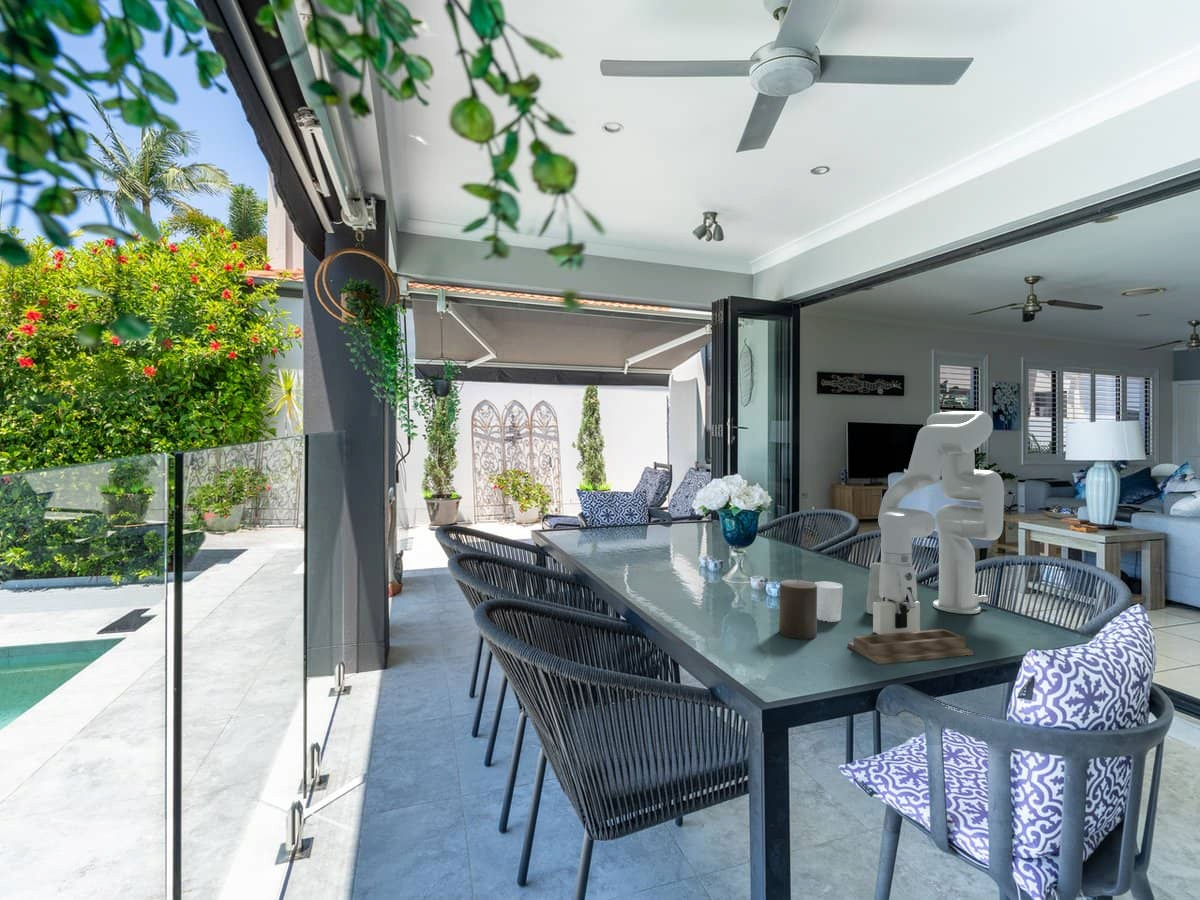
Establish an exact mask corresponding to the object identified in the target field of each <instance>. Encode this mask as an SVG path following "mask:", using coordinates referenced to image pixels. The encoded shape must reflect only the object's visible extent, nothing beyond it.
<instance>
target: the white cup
mask: <svg viewBox="0 0 1200 900" xmlns="http://www.w3.org/2000/svg"><path fill="white" fill-rule="evenodd" d="M814 583H815V584H817V621H821V620H822V621H821V622H825V621H827V623H836V622H840V621H841V618H842V605H843V592H844V591H843V587H844V586H843V584H842V583H839V582H836V581H834V582H833V581H828V580H827V581H826V580H825V581H815V582H814Z"/></svg>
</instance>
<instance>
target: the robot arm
mask: <svg viewBox="0 0 1200 900" xmlns="http://www.w3.org/2000/svg"><path fill="white" fill-rule="evenodd" d="M993 424H994V422H993V419H992V417H991V416H990V414H989V413H987V412H985V411H978V410H977V411H973V410H971V411H945V412H942V411H941V412H937V413H936V412H935V413H933V414H930V415H929V416H928V417H927V419H926V425H925V426H923V427H921V428H920V429H919V430H918V432H917V434H916V439H915V442H914V445H913V450H912V454H911V457H910V459H909V460H910V461H909V464H908V468H907V471H906V473H903V475H902V476H901V477H899V478H897V480H895V481H894V482H893V483H892V485H890V486H889V488H888V489H887V490H886V491H885V493H884V495H883V497H882V500H881V503H880V508H879V512H878V517H877V519H878V520H877V522H878V526H879V528H880V534H881V535H880V538H881V539H880V540H881V542H880V544H881V545H880V546H881V547H880V556H881V557H880V563H881V565H880V573H879V595H880V596H881V598H882V599H883V601H896V606H897V613H895V627H896V628H906V627H907V613H909V610H910V609H913V608H915V604H914V602H916V601H918V589H917V587H918V586H917V585H918V584H917V577H916V571H915V566H914V565H913V538H919V539H920V538H921V539H922V538H927V537H929V536H930V535H932V534H933V532H934V531H935V529H936V530H937V536H938V550H939V551H938V599H935V600H933V602H932V606H933V607H934V608H935V609H936V610H940V611H943V612H948V613H952V614H960V615H961V614H962V615H974V614H975V615H976V614H979V613H980V612H981V610H982V609H981V606H980V605H979V603H984V602H988V601H989V596H988V595H986V594H983V595H978V594H976V551H975V548H974V546H973V544H972V543H971V541H970V540H969V539H973V540H974V539H975V540H976V539H977V540H982V541H995V540H998V539H999V538H1000V537H1001V535H1002V533H1003V529H1004V511H1005V508H1004V506H1005V499H1004V498H1005V486H1004V485H1005V484H1004V480H1003V479H1002V476H1001V475H1000V474H999V473H998V472H996V471H994V470H988V469H986V470H985V469H976V463H975V462H976V461H975V458H976V455H975V450H976V449H977V448H979V447H980V446H981V445H982V444H984V443H985V442H986V440H988V439H989V437H991V434H992V432H993V429H994V427H993V426H994V425H993ZM940 480H941V490H942V493H943V496H944V497H945V498H947V499H949V500H953V501H954V500H955V501H962V502H963V501H964V502H972V503H973V502H974V503H980V506H975V505H973V506H972V505H967V504H966V505H964V504H945V505H943V506H940V508H938V510H937V511H936V512H935V513H936V514H935V517H934V516H933V514H932V513H930V512H929V511H926V510H923V509H915V508H914V509H913V508H912V509H911V508H906V507H899V505H900V503H901V502H902V501H903V500H904V498H906V497H907V496H908V495H910V494H912V493H914V492H915V491H919V490H921V489H924V488H927V487H930V486H933V485H936V484H937V483H939V481H940ZM901 604H904V605H903V606H902V607H901Z"/></svg>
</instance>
